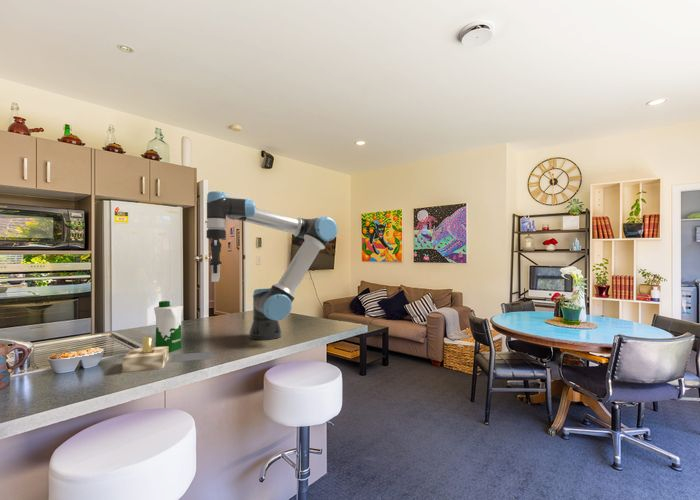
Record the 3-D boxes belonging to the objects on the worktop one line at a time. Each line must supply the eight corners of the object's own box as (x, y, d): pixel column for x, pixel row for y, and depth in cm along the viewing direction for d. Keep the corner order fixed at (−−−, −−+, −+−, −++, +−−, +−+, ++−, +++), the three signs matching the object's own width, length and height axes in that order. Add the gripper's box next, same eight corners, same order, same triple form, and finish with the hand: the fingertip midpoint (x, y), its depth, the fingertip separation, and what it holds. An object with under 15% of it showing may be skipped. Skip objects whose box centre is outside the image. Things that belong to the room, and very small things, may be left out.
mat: (212, 352, 142) (212, 351, 142) (210, 359, 133) (210, 358, 133) (173, 355, 138) (173, 354, 138) (169, 363, 128) (169, 362, 128)
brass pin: (152, 364, 127) (153, 336, 127) (150, 366, 124) (151, 338, 125) (143, 364, 126) (143, 336, 126) (141, 367, 123) (141, 338, 124)
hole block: (168, 359, 133) (168, 346, 133) (162, 369, 121) (162, 355, 121) (131, 362, 129) (132, 348, 129) (122, 373, 117) (122, 358, 118)
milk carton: (166, 347, 150) (166, 300, 150) (185, 348, 148) (185, 300, 149) (150, 352, 142) (151, 302, 142) (170, 354, 140) (171, 303, 140)
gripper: (208, 230, 157) (207, 278, 157) (204, 226, 134) (203, 283, 134) (226, 231, 160) (225, 278, 160) (225, 227, 136) (224, 282, 136)
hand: (215, 280), depth 147 cm, fingers open, 13 cm apart
